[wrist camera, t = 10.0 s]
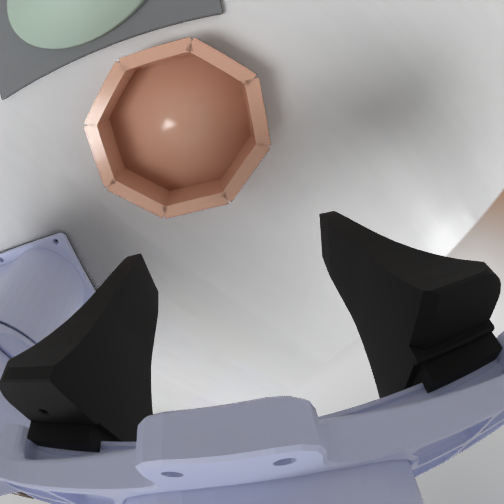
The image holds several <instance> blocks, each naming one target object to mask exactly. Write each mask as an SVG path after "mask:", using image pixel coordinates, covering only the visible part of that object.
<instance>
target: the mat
mask: <svg viewBox="0 0 504 504" xmlns="http://www.w3.org/2000/svg"><path fill="white" fill-rule="evenodd" d="M222 13H223V12H222V7H221V3H220V0H145V2H144V3H143V4H142V6H141V7H140V8H139V9H138V10H137V11H136V12H135V13H134V14H133V15H132V16H131V17H129V18H128V19H127V20H126V21H125V22H124V23H122V24H121V25H120V26H118V27H117V28H116V29H114V30H112V31H111V32H109V33H108V34H106V35H104V36H102V37H100V38H98V39H96V40H94V41H92V42H89V43H86V44H84V45H80V46H76V47H72V48H65V49H48V48H40V47H37V46H33V45H31V44H29V43H27V42H25V41H24V40H23V39H21V38H20V37H19V36H18V35H17V34H16V33H15V31H14V29H13V28H12V26H11V23H10V21H9V17H8V13H7V0H0V94H1V98H2V100H3V99H6V98H8V97H9V96H11V95H12V94H14V93H16V92H17V91H19V90H20V89H22V88H24V87H26V86H27V85H29V84H31V83H32V82H34V81H36V80H38V79H40V78H41V77H43V76H45V75H47V74H49V73H51V72H53V71H55V70H57V69H59V68H61V67H63V66H65V65H67V64H69V63H71V62H73V61H75V60H77V59H79V58H82V57H84V56H86V55H88V54H91V53H93V52H95V51H98V50H100V49H103V48H105V47H108V46H110V45H113V44H116V43H118V42H121V41H124V40H126V39H129V38H132V37H135V36H138V35H141V34H144V33H147V32H150V31H154V30H157V29H160V28H164V27H168V26H171V25H175V24H179V23H183V22H187V21H191V20H195V19H200V18H204V17H209V16H214V15H219V14H222Z"/></svg>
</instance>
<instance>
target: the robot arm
mask: <svg viewBox="0 0 504 504" xmlns="http://www.w3.org/2000/svg"><path fill="white" fill-rule="evenodd" d="M319 215H320V228H321V242H322V257H323V259H324V262H325V265H326V267H327V270H328V272H329V275H330V277H331V279H332V281H333V283H334V285H335V286H336V288H337V290H338V292H339V294H340V296H341V297H342V299H343V301H344V303H345V305H346V306H347V308H348V310H349V312H350V314H351V316H352V318H353V320H354V322H355V324H356V326H357V329H358V332H359V334H360V337H361V340H362V342H363V345H364V348H365V351H366V353H367V357H368V360H369V363H370V366H371V369H372V372H373V375H374V379H375V382H376V385H377V389H378V393H379V397H380V399H378V400H374V401H371V402H368V403H365V404H362V405H359V406H356V407H352V408H349V409H346V410H342V411H339V412H335V413H332V414H328V415H324V416H321V417H318V416H317V413H316V409H315V408H314V406H313V405H312V404H311V403H310V402H309V401H308V400H305V399H301V398H296V397H292V396H278V397H266V398H261V399H255V400H250V401H244V402H238V403H232V404H226V405H219V406H212V407H205V408H197V409H188V410H179V411H168V412H162V413H158V414H153V412H152V398H151V360H152V351H153V344H154V337H155V331H156V324H157V317H158V290H157V288H156V286H155V284H154V282H153V279H152V277H151V275H150V273H149V271H148V268H147V266H146V264H145V262H144V259H143V257H142V255H141V254H137V255H133V256H128V257H127V258H126V259H124V260H123V261H122V262H121V264H120V265H119V266H118V267H117V268H116V269H115V270H114V271H113V272H112V274H111V275H110V276H109V277H108V278H107V279H106V280H105V282H104V283H103V284H102V285H101V286H100V287H99V288H98V289H97V291H95V289H94V287H93V286H92V284H91V282H90V280H89V278H88V277H87V275H86V273H85V271H84V269H83V267H82V266H81V264H80V262H79V260H78V258H77V256H76V254H75V252H74V250H73V248H72V246H71V244H70V242H69V240H68V238H67V236H66V235H65V234H64V233H57V234H54V235H51V236H48V237H45V238H42V239H39V240H36V241H33V242H30V243H27V244H25V245H22V246H19V247H16V248H13V249H11V250H8V251H5V252H3V253H0V496H1V495H5V494H9V493H17V492H23V493H25V494H27V495H29V496H31V497H33V498H35V499H37V500H41V501H44V502H48V503H51V504H424V502H423V499H422V497H421V493H420V491H419V488H418V485H417V482H416V479H415V477H416V476H418V475H420V474H422V473H424V472H426V471H428V470H430V469H432V468H434V467H436V466H438V465H440V464H442V463H444V462H445V461H447V460H449V459H451V458H453V457H454V456H456V455H457V454H459V453H461V452H463V451H464V450H466V449H468V448H469V447H471V446H472V445H474V444H476V443H477V442H479V441H480V440H482V439H483V438H485V437H486V436H488V435H489V434H491V433H492V432H494V431H495V430H497V429H498V428H500V427H501V426H502V425H504V332H503V333H501V334H500V335H499V336H498V337H497V338H496V337H495V336H494V334H493V333H492V331H493V330H494V325H493V324H492V322H491V321H490V320H489V319H490V317H491V315H492V312H493V310H494V308H495V305H496V302H497V301H498V298H499V294H500V287H501V283H500V279H499V278H498V276H497V275H496V274H495V273H494V272H493V271H492V270H491V269H490V268H489V267H488V266H487V265H486V264H485V263H484V262H478V261H470V260H461V259H454V258H450V257H444V256H440V255H435V254H432V253H428V252H424V251H421V250H417V249H414V248H411V247H409V246H406V245H403V244H400V243H398V242H395V241H393V240H390V239H388V238H386V237H384V236H382V235H380V234H377V233H375V232H373V231H371V230H369V229H367V228H366V227H364V226H362V225H360V224H358V223H356V222H354V221H353V220H351V219H349V218H347V217H345V216H343V215H341V214H339V213H337V212H335V211H332V212H327V213H322V214H319ZM55 239H57V240H58V242H56V241H55Z"/></svg>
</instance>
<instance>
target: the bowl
mask: <svg viewBox="0 0 504 504" xmlns="http://www.w3.org/2000/svg"><path fill="white" fill-rule="evenodd" d="M256 75H257V74H255V73H253V72H252V71H250V70H249V69H247V68H246V67H244V66H242V65H241V64H239V63H238V62H236V61H234V60H233V59H231V58H229V57H228V56H226V55H224V54H223V53H221V52H219V51H217V50H216V49H214V48H212V47H210V46H209V45H207V44H205V43H203V42H201V41H200V40H198V39H196V38H194V39H193V40H192V39H191V38H190V37H189V38H185V39H181V40H177V41H173V42H169V43H166V44H162V45H159V46H156V47H152V48H149V49H146V50H143V51H140V52H137V53H134V54H131V55H128V56H125V57H122V58H120V59H119V62H115V63H114V65H113V67H112V69H111V71H110V72H109V74H108V76H107V78H106V80H105V81H104V83H103V85H102V87H101V89H100V91H99V93H98V95H97V97H96V99H95V101H94V103H93V105H92V107H91V109H90V111H89V113H88V116H87V118H86V120H85V122H84V123H85V124H87V125H86V126H85V127H84V129H85V133H86V136H87V139H88V142H89V145H90V148H91V151H92V154H93V157H94V160H95V163H96V165H97V168H98V171H99V174H100V176H101V179H102V182H103V185H104V187H106V186H108V188H107V190H108V191H110V192H112V193H114V194H116V195H118V196H120V197H122V198H124V199H126V200H128V201H130V202H132V203H133V204H135V205H137V206H139V207H141V208H143V209H145V210H147V211H149V212H151V213H153V214H155V215H157V216H159V217H161V218H163V217H164V215H165V217H166V219H167V218H171V217H175V216H179V215H183V214H187V213H192V212H196V211H200V210H204V209H209V208H213V207H217V206H222V205H226V204H229V203H228V200H229V201H231V202H232V201H233V199H234V198H235V197H236V195H237V194H238V192H239V191H240V189H241V188H242V187H243V185H244V184H245V182H246V181H247V180H248V178H249V177H250V175H251V174H252V173H253V171H254V170H255V168H256V167H257V166H258V164H259V163H260V162H261V160H262V159H263V157H264V156H265V155H266V153H267V152H268V151H269V149H270V148H269V146H268V145H271V142H270V136H269V130H268V125H267V119H266V113H265V108H264V102H263V97H262V91H261V86H260V81H259V78H257V77H255V76H256Z"/></svg>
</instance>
